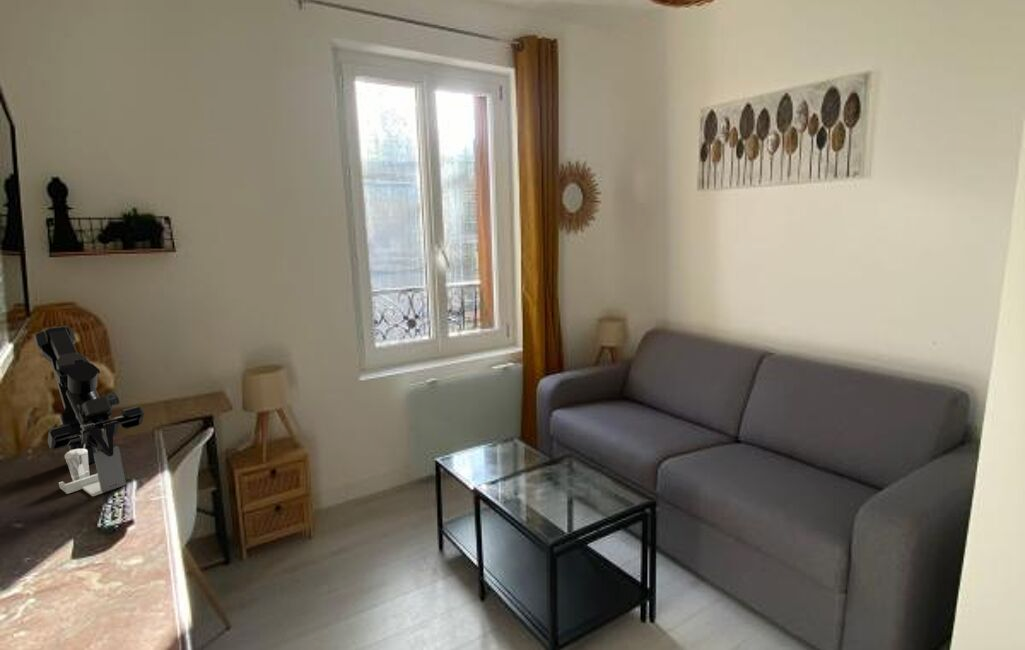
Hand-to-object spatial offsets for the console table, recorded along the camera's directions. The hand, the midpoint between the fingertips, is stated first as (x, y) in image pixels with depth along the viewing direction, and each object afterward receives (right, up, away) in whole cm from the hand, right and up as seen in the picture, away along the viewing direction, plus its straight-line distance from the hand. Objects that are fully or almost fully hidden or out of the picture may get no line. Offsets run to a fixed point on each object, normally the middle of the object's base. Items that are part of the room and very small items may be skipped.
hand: (111, 455), depth 132 cm
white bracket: (-8, -9, +5) cm, 13 cm away
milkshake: (-13, -9, +8) cm, 17 cm away
